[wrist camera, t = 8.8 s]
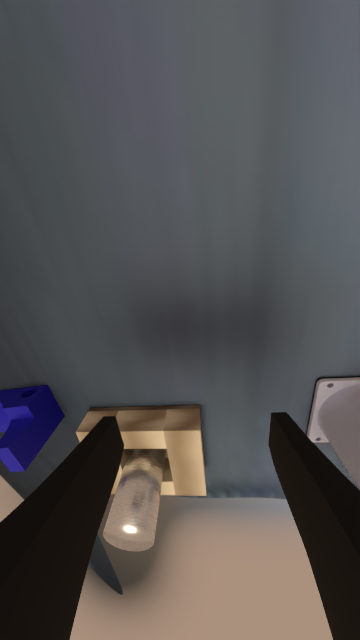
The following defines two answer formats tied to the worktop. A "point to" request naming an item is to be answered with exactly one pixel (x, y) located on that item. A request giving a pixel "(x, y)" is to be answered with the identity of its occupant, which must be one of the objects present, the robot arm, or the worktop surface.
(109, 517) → the pin
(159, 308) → the worktop surface
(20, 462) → the blue curved cradle
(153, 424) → the pocket block
